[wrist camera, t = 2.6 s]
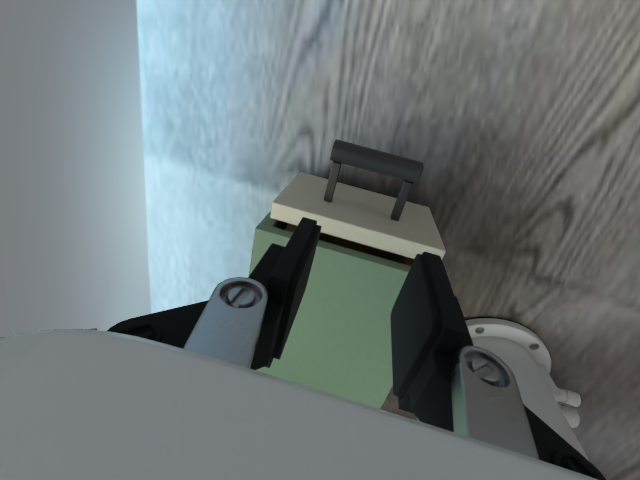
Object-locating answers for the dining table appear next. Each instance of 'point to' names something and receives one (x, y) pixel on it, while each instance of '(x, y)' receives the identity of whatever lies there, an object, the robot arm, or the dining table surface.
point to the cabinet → (338, 320)
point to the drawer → (363, 207)
